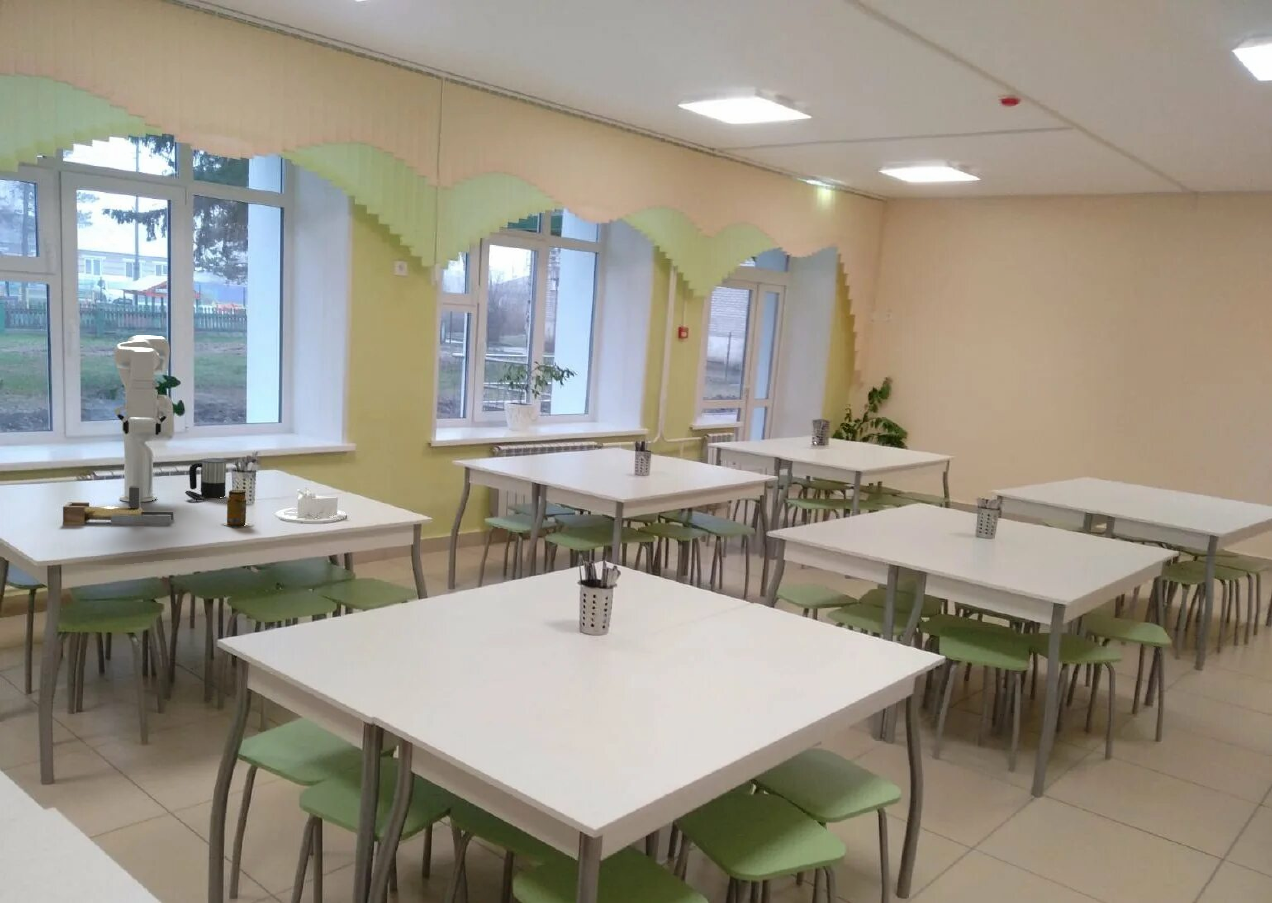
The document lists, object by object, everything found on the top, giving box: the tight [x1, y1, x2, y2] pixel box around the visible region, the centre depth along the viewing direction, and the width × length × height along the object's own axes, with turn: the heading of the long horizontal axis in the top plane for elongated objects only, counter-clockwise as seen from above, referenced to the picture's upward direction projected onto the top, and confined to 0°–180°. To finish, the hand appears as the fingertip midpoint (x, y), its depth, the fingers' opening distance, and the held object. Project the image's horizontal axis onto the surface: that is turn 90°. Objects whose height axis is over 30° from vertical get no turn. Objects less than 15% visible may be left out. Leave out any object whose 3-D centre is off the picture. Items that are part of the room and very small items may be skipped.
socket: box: [62, 501, 90, 526], centre depth 319 cm, size 8×6×6 cm
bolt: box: [85, 486, 143, 521], centre depth 321 cm, size 4×20×11 cm, turn 108°
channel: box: [110, 510, 175, 526], centre depth 325 cm, size 8×18×3 cm, turn 108°
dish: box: [274, 484, 347, 524], centre depth 354 cm, size 25×25×11 cm
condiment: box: [221, 489, 254, 529], centre depth 331 cm, size 7×8×12 cm
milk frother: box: [184, 457, 228, 502], centre depth 371 cm, size 14×16×15 cm
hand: (142, 433), depth 336 cm, fingers open, 9 cm apart
